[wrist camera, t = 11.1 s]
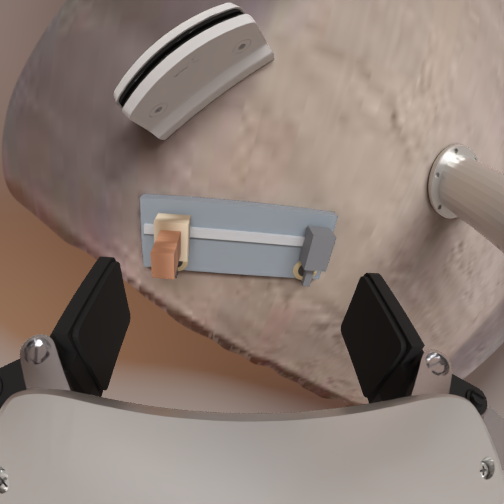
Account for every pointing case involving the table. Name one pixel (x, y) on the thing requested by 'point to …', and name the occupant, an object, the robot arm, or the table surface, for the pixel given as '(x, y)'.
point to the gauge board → (246, 236)
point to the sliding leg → (170, 244)
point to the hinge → (191, 68)
